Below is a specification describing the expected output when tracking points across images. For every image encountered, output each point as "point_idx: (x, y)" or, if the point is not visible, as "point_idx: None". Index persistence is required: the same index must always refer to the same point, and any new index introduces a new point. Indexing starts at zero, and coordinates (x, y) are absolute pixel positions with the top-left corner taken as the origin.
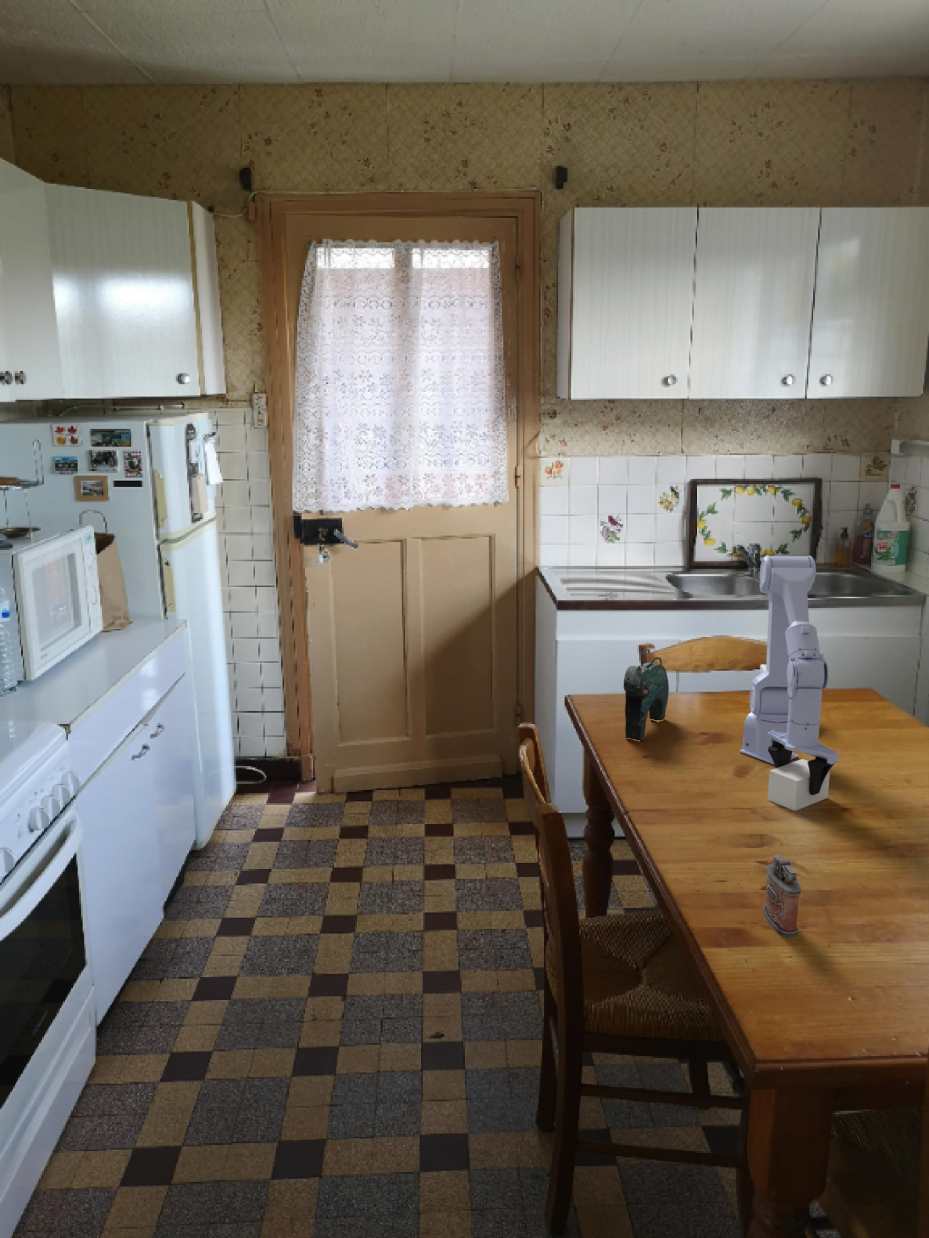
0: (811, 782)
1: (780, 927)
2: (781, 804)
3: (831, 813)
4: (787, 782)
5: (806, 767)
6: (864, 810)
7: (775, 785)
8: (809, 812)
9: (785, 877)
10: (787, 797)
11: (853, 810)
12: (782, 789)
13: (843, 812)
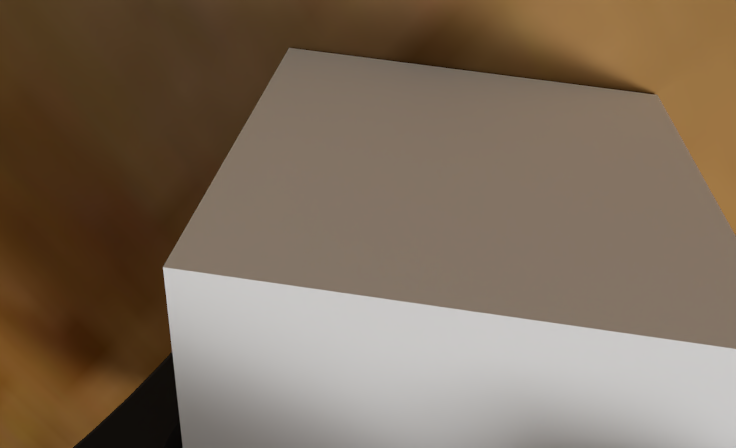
0: (155, 410)
1: None
2: (465, 75)
3: (71, 230)
4: (379, 237)
5: None
6: (7, 401)
7: (595, 193)
8: (183, 122)
9: None
10: (383, 116)
11: (38, 364)
12: (468, 168)
13: (43, 299)
